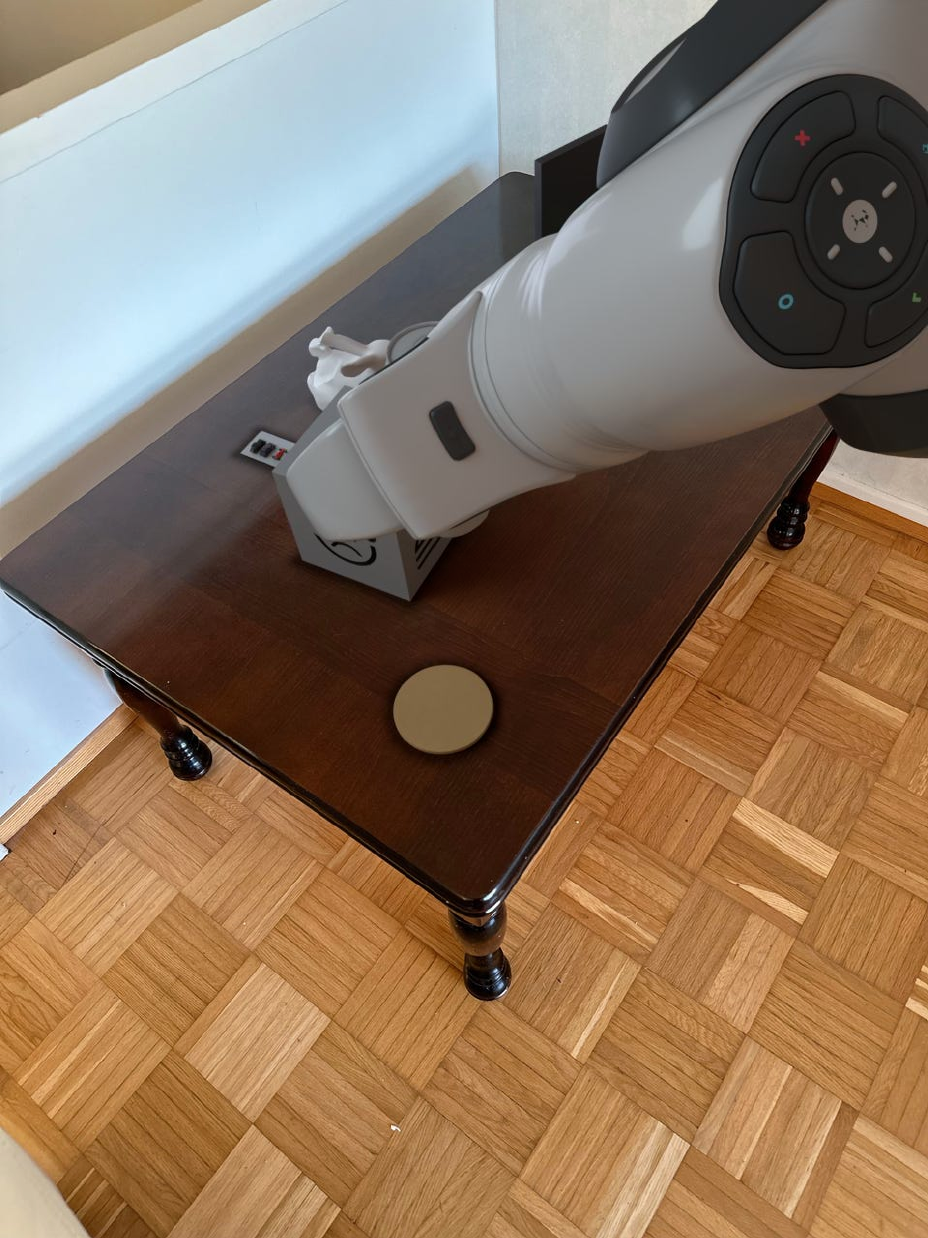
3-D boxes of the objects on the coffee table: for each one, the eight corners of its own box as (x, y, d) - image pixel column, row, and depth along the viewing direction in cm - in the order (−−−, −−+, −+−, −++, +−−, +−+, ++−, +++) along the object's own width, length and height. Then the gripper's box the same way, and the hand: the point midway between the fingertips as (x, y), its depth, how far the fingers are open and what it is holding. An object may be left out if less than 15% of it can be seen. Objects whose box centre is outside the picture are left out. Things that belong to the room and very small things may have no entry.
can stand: (667, 304, 88) (685, 162, 77) (602, 343, 85) (610, 202, 74) (598, 263, 93) (606, 123, 82) (535, 298, 90) (534, 159, 79)
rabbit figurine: (440, 409, 82) (429, 318, 74) (398, 463, 78) (381, 374, 70) (330, 375, 86) (308, 285, 78) (285, 425, 82) (257, 336, 74)
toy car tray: (261, 430, 82) (259, 424, 81) (333, 458, 79) (332, 452, 78) (240, 453, 80) (237, 446, 80) (312, 482, 77) (311, 475, 77)
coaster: (495, 668, 65) (495, 665, 65) (490, 756, 61) (490, 753, 61) (400, 666, 66) (399, 663, 66) (388, 753, 62) (387, 750, 62)
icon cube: (469, 511, 74) (460, 419, 66) (410, 601, 69) (392, 513, 61) (365, 476, 78) (344, 384, 69) (302, 560, 73) (271, 471, 65)
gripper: (700, 193, 39) (550, 291, 52) (306, 415, 33) (245, 464, 46) (760, 326, 41) (600, 390, 54) (394, 563, 34) (311, 571, 47)
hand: (434, 426), depth 50 cm, fingers closed on beverage can, 5 cm apart
